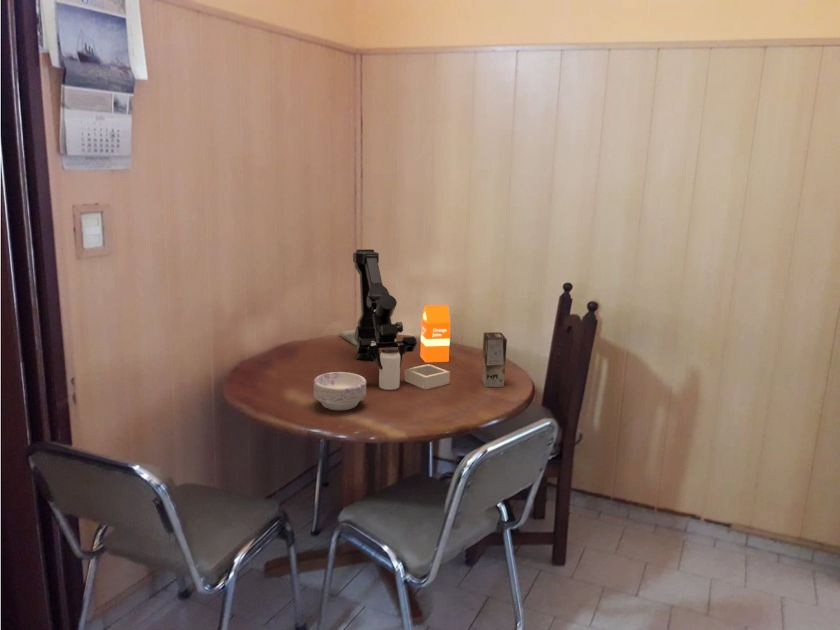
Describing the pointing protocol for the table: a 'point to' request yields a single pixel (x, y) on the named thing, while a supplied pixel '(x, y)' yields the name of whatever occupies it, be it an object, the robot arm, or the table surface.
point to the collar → (427, 376)
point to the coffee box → (493, 359)
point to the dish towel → (350, 337)
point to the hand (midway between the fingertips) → (390, 368)
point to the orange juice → (435, 334)
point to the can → (389, 369)
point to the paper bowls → (339, 390)
